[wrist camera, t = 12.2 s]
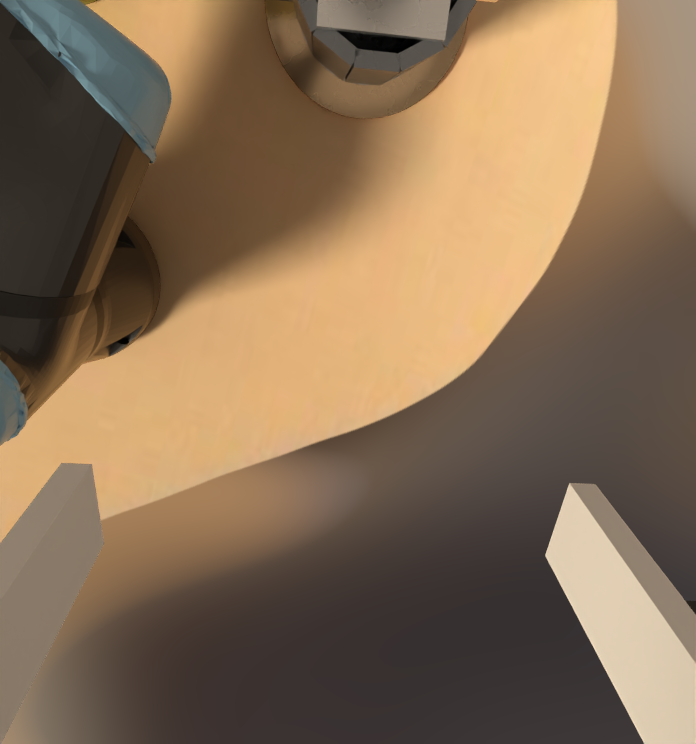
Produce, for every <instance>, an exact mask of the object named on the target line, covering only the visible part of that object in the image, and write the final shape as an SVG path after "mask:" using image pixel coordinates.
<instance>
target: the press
mask: <svg viewBox="0 0 696 744" xmlns="http://www.w3.org/2000/svg"><path fill="white" fill-rule="evenodd" d="M477 1H486V2H494V3H495V2H497V1H498V0H477ZM477 1H476V0H265V10H266V17H267V23H268V28H269V32H270V35H271V39H272V42H273V45H274V47H275V50H276V52H277V55H278V57H279V59H280V61H281V63H282V65H283V66H284V68H285V70H286V71H287V73H288V74H289V76H290V77H291V79H292V80H293V81H294V82H295V84H296V85H297V86H298V87H299V88H300V89H301V90H302V91H303V92H304V93H305V94H306V95H307V96H308V97H309V98H311V99H312V100H313V101H315V102H316V103H318V104H319V105H321V106H322V107H324V108H326V109H328V110H330V111H332V112H334V113H337V114H340V115H343V116H347V117H353V118H364V119H371V118H379V117H385V116H389V115H392V114H396V113H398V112H400V111H403V110H405V109H407V108H409V107H410V106H412V105H414V104H415V103H417V102H418V101H420V100H421V99H422V98H423V97H425V96H426V95H427V94H428V93H429V92H430V91H431V90H432V89H433V88H434V87H435V86H436V85H437V84H438V83H439V82H440V80H441V79H442V78H443V76H444V75H445V74H446V72H447V71H448V69H449V67H450V66H451V64H452V62H453V60H454V58H455V56H456V54H457V52H458V50H459V47H460V45H461V42H462V38H463V35H464V32H465V28H466V23H467V19H468V14H469V13H470V11H471V10H472V8H473V7H474V5H475V4H476V2H477ZM337 31H345V32H353V33H362V34H371V35H380V36H389V37H398V38H406V39H405V40H404V41H403V42H402V43H401V44H400V45H399V46H398V47H396V48H395V49H393V50H392V51H390V52H381V51H372V50H362V49H358V48H356V47H355V46H354V45H353V44H352V43H350V42H349V41H348V40H347V39H346V38H344V37H343V36H342V35H341V34H340V33H338V32H337Z"/></svg>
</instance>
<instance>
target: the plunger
mask: <svg viewBox="0 0 696 744" xmlns="http://www.w3.org/2000/svg"><path fill="white" fill-rule="evenodd" d="M337 32H338V33H340V34H341V35H342V36H343V37H344V38H346V39H347V40H348V41H349V42H350V43H352V44H353V45H354V46H355V47H356V48H358V49H362V50H372V51H381V52H390V51H392V50H393V49H395V48H396V47H398V46H399V45H400V44H401V43H402V42H403V41H404V40H405V39H406V38H398V37H389V36H380V35H371V34H362V33H353V32H345V31H337Z"/></svg>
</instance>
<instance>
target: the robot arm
mask: <svg viewBox="0 0 696 744" xmlns="http://www.w3.org/2000/svg"><path fill="white" fill-rule="evenodd" d="M170 105H171V90H170V86H169V83H168V79H167V77H166V75H165V73H164V71H163V70H162V68H161V67H160V66H159V64H158V63H157V62H156V61H155V60H154V59H152V58H151V57H150V56H149V55H148V54H147V53H145V52H144V51H143V50H142V49H141V48H139V47H138V46H137V45H136V44H134V43H133V42H132V41H131V40H129V39H128V38H127V37H126V36H124V35H123V34H122V33H121V32H119V31H118V30H117V29H116V28H114V27H113V26H112V25H110V24H109V23H108V22H107V21H105V20H104V19H103V18H101V17H100V16H99V15H98V14H96V13H95V12H94V11H92V10H91V9H90V8H88V7H87V6H86V5H85V4H83V3H82V2H81V1H79V0H0V445H2V444H3V443H4V442H6V441H9V440H10V439H11V438H13V437H15V436H17V435H18V433H19V432H20V430H22V429H23V427H24V426H25V424H26V421H27V420H28V419H29V418H30V417H31V416H32V415H33V414H34V413H35V412H36V411H37V410H38V409H39V408H40V407H41V406H42V405H43V404H44V403H45V402H46V401H47V400H48V399H49V398H50V396H51V395H52V394H53V393H54V392H55V391H56V390H57V389H58V388H59V387H60V386H61V385H62V384H63V383H64V382H65V381H66V380H67V379H68V378H69V377H70V376H71V375H72V374H73V373H74V372H75V371H76V370H77V369H78V368H79V367H80V366H81V365H82V364H84V363H88V362H92V361H96V360H99V359H103V358H106V357H109V356H112V355H114V354H116V353H118V352H120V351H121V350H123V349H125V348H126V347H128V346H129V345H130V344H131V343H133V342H134V341H135V340H136V339H137V338H138V336H139V335H140V334H141V333H142V332H143V331H144V330H145V328H146V327H147V326H148V324H149V323H150V321H151V320H152V318H153V316H154V314H155V311H156V309H157V305H158V301H159V296H160V276H159V270H158V266H157V262H156V259H155V256H154V254H153V251H152V249H151V247H150V245H149V243H148V241H147V240H146V238H145V236H144V235H143V233H142V232H141V231H140V229H139V228H138V227H137V225H136V224H135V223H134V222H133V221H132V220H131V219H130V218H129V217H128V213H129V211H130V209H131V206H132V204H133V201H134V199H135V196H136V194H137V192H138V189H139V187H140V184H141V182H142V180H143V177H144V175H145V172H146V170H147V168H148V165H149V163H154V162H155V160H156V151H155V148H156V145H157V143H158V140H159V137H160V134H161V131H162V129H163V126H164V123H165V120H166V118H167V115H168V112H169V109H170ZM103 544H104V541H103V534H102V527H101V521H100V514H99V508H98V501H97V495H96V488H95V482H94V475H93V469H92V464H73V463H61V464H60V466H59V467H58V468H57V470H56V471H55V472H54V474H53V475H52V476H51V478H50V479H49V480H48V482H47V483H46V484H45V485H44V487H43V488H42V489H41V491H40V492H39V493H38V495H37V496H36V497H35V499H34V500H33V501H32V503H31V504H30V505H29V506H28V508H27V509H26V510H25V512H24V513H23V514H22V516H21V517H20V518H19V520H18V521H17V522H16V524H15V525H14V526H13V527H12V529H11V530H10V531H9V533H8V534H7V535H6V537H5V538H4V539H3V541H2V542H1V543H0V744H1V743H2V741H3V739H4V737H5V735H6V733H7V731H8V729H9V727H10V725H11V724H12V722H13V720H14V718H15V716H16V714H17V712H18V710H19V708H20V706H21V704H22V702H23V700H24V698H25V696H26V694H27V693H28V691H29V689H30V687H31V685H32V683H33V681H34V679H35V677H36V675H37V673H38V671H39V669H40V667H41V665H42V663H43V661H44V659H45V657H46V655H47V654H48V652H49V650H50V648H51V646H52V644H53V642H54V640H55V638H56V636H57V634H58V632H59V630H60V628H61V626H62V624H63V622H64V620H65V618H66V616H67V615H68V613H69V611H70V609H71V607H72V605H73V603H74V601H75V599H76V597H77V595H78V593H79V591H80V589H81V587H82V585H83V583H84V581H85V579H86V578H87V576H88V574H89V572H90V570H91V568H92V566H93V564H94V562H95V560H96V558H97V556H98V554H99V552H100V550H101V548H102V546H103ZM545 556H546V558H547V560H548V562H549V563H550V565H551V567H552V569H553V571H554V573H555V575H556V577H557V579H558V581H559V583H560V584H561V586H562V588H563V590H564V592H565V594H566V596H567V598H568V600H569V602H570V603H571V605H572V607H573V609H574V611H575V613H576V615H577V617H578V619H579V621H580V622H581V624H582V626H583V628H584V630H585V632H586V634H587V636H588V638H589V640H590V641H591V643H592V645H593V647H594V649H595V651H596V653H597V655H598V657H599V659H600V660H601V662H602V664H603V666H604V668H605V670H606V672H607V673H608V676H609V678H610V679H611V681H612V683H613V685H614V687H615V689H616V691H617V693H618V695H619V696H620V698H621V700H622V702H623V704H624V706H625V708H626V710H627V712H628V714H629V716H630V717H631V719H632V721H633V723H634V725H635V727H636V729H637V731H638V732H639V735H640V736H641V738H642V740H643V742H644V744H696V601H685V600H684V599H683V598H682V596H681V595H680V594H679V593H678V591H677V590H676V589H675V587H674V586H673V585H672V583H671V582H670V581H669V579H668V578H667V577H666V575H665V574H664V573H663V572H662V570H661V569H660V568H659V567H658V565H657V564H656V563H655V561H654V560H653V559H652V557H651V556H650V555H649V553H648V552H647V551H646V549H645V548H644V547H643V546H642V544H641V543H640V542H639V540H638V539H637V538H636V537H635V535H634V534H633V533H632V531H631V530H630V529H629V527H628V526H627V525H626V524H625V522H624V521H623V520H622V518H621V517H620V516H619V514H618V513H617V512H616V511H615V509H614V508H613V507H612V505H611V504H610V503H609V501H608V500H607V499H606V498H605V496H604V495H603V494H602V493H601V491H600V490H599V488H598V487H597V486H596V485H595V484H578V483H576V484H575V483H569V486H568V489H567V493H566V495H565V498H564V501H563V504H562V508H561V511H560V513H559V516H558V519H557V522H556V526H555V528H554V532H553V534H552V537H551V540H550V543H549V546H548V549H547V552H546V555H545Z"/></svg>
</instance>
